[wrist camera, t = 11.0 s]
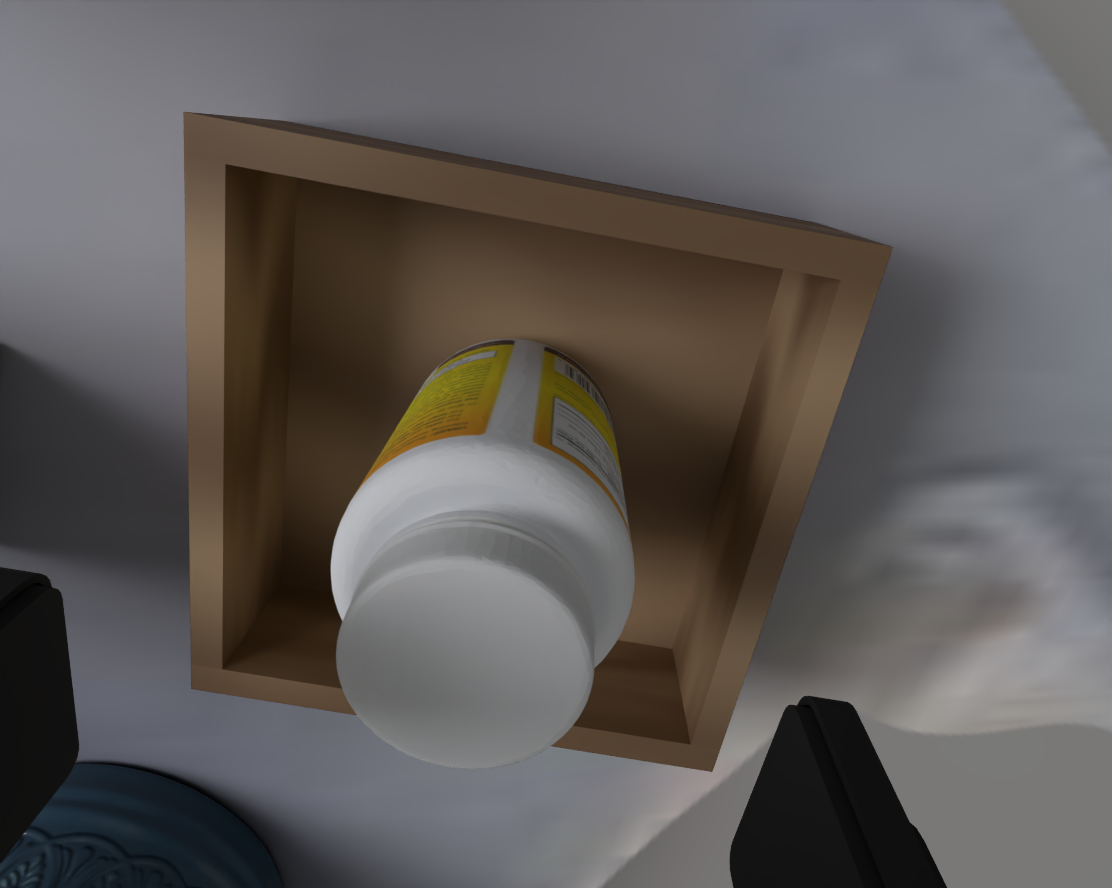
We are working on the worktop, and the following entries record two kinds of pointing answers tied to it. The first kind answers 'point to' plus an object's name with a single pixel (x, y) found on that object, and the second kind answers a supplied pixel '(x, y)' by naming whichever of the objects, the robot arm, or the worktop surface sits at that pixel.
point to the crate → (486, 314)
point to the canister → (135, 838)
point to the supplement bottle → (485, 560)
